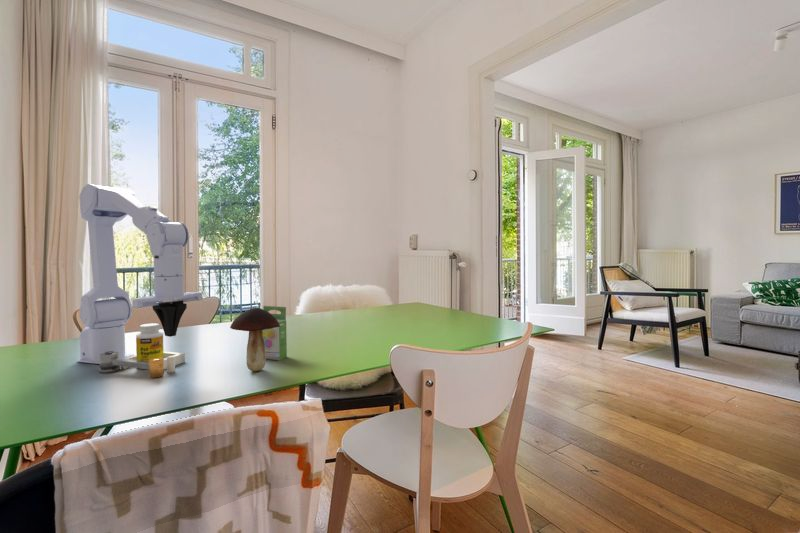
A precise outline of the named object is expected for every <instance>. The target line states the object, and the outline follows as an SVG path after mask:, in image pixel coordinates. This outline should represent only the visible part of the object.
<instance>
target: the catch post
mask: <svg viewBox="0 0 800 533" xmlns="http://www.w3.org/2000/svg"><path fill="white" fill-rule="evenodd" d="M166 371H167V373H168V374H170V373H175V372H176V365H175V356H169V357H167V369H166Z"/></svg>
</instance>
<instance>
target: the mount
mask: <svg viewBox="0 0 800 533" xmlns="http://www.w3.org/2000/svg"><path fill="white" fill-rule="evenodd" d="M119 371H121V369H120V366H119V367H117V368H113V369H106V370H102V369H100V367H99V368H98V373H99V374H103V375H105V374H113V373H117V372H119Z"/></svg>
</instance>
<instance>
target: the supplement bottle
mask: <svg viewBox="0 0 800 533" xmlns="http://www.w3.org/2000/svg"><path fill="white" fill-rule="evenodd" d="M135 336H136V337H135V340H136V341H135V343H136V345H135V346H136V355H137V360H140V361H149V359H152V358H159V357H161V358H164V356H163V351H164V332H163V331H160V324H159V323H155V322H154V323H153V322H151V323H143V324H140V325H139V333H137V334H136V335H135ZM139 369H141V368H139ZM141 370H142V369H141Z"/></svg>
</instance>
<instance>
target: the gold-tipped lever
mask: <svg viewBox="0 0 800 533" xmlns="http://www.w3.org/2000/svg"><path fill="white" fill-rule="evenodd" d="M99 356H100V364H99V368H100V369H102V370H106V369H113V368H117V367H119V366H124V367H129V368H133V369H135V368H136V369H140V368H141V370H148V373H149V378H160V377H162V376H164V375H165V369H164V358H161V357H159V358H152V359H149V361H140V360H131V359H122V358H119V352H113V351H107V352H105V353H102V354H100V355H99Z"/></svg>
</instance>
